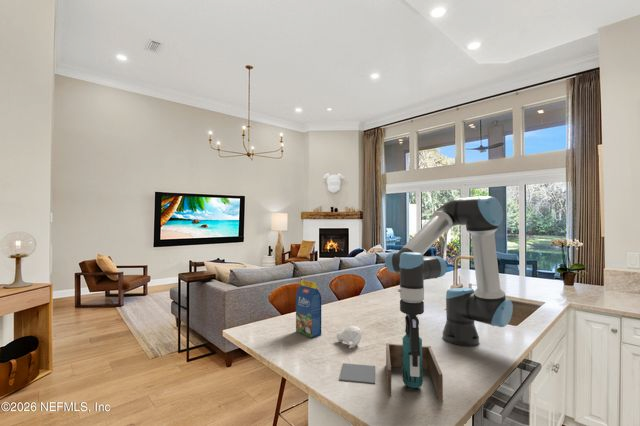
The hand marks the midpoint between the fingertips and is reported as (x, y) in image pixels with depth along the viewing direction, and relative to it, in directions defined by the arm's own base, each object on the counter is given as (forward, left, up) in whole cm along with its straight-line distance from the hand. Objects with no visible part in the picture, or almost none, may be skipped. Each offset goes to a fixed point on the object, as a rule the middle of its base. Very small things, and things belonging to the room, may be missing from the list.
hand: (412, 365), depth 100 cm
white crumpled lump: (+24, -31, -7) cm, 40 cm away
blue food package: (+44, -41, -7) cm, 61 cm away
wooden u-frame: (0, -4, -7) cm, 8 cm away
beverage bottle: (0, 0, -7) cm, 7 cm away
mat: (+18, -6, -7) cm, 20 cm away
